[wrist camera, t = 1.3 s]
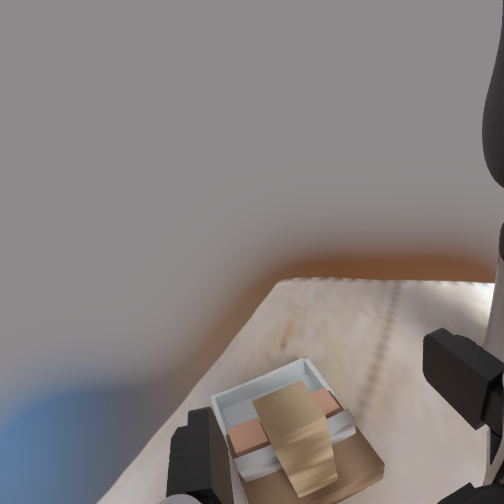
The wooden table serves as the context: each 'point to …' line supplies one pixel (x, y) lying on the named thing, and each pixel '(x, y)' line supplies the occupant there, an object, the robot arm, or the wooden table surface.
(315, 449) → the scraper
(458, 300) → the wooden table surface
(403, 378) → the wooden table surface
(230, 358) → the wooden table surface
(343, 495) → the board
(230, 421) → the tray
